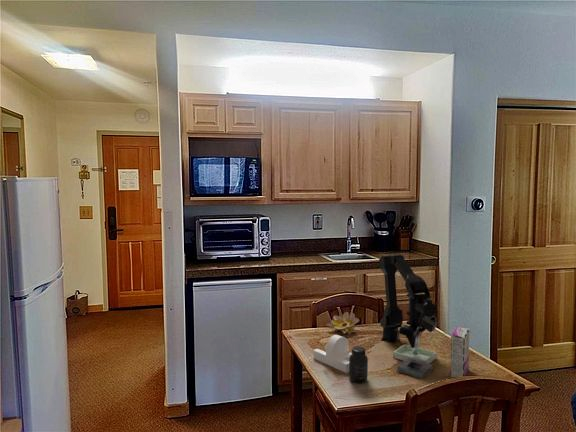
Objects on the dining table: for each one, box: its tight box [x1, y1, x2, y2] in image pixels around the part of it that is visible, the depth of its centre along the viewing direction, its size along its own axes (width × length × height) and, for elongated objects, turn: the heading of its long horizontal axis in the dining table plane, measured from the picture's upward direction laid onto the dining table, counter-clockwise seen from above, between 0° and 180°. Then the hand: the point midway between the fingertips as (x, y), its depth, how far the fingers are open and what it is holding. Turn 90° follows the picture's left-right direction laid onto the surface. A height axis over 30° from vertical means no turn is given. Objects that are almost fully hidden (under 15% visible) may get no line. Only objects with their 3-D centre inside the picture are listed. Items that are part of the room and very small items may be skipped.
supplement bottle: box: [348, 345, 369, 385], centre depth 154 cm, size 7×7×12 cm
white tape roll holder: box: [313, 334, 352, 374], centre depth 170 cm, size 18×10×11 cm, turn 41°
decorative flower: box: [326, 311, 360, 334], centre depth 206 cm, size 15×11×10 cm
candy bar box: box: [450, 326, 470, 379], centre depth 160 cm, size 11×5×16 cm, turn 148°
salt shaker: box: [409, 330, 422, 355], centre depth 174 cm, size 5×5×10 cm
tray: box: [392, 343, 437, 365], centre depth 175 cm, size 14×11×2 cm
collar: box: [396, 358, 433, 380], centre depth 163 cm, size 10×10×2 cm
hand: (414, 346), depth 174 cm, fingers closed on salt shaker, 4 cm apart
